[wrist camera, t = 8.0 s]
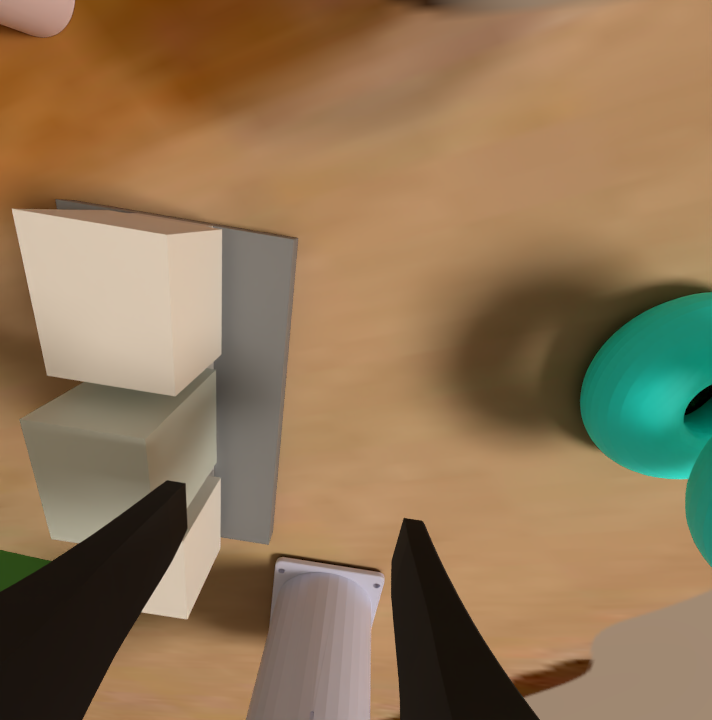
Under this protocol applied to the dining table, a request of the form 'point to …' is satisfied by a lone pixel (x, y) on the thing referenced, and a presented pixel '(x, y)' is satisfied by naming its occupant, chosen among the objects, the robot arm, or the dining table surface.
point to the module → (117, 450)
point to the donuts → (658, 402)
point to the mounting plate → (248, 371)
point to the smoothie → (36, 16)
